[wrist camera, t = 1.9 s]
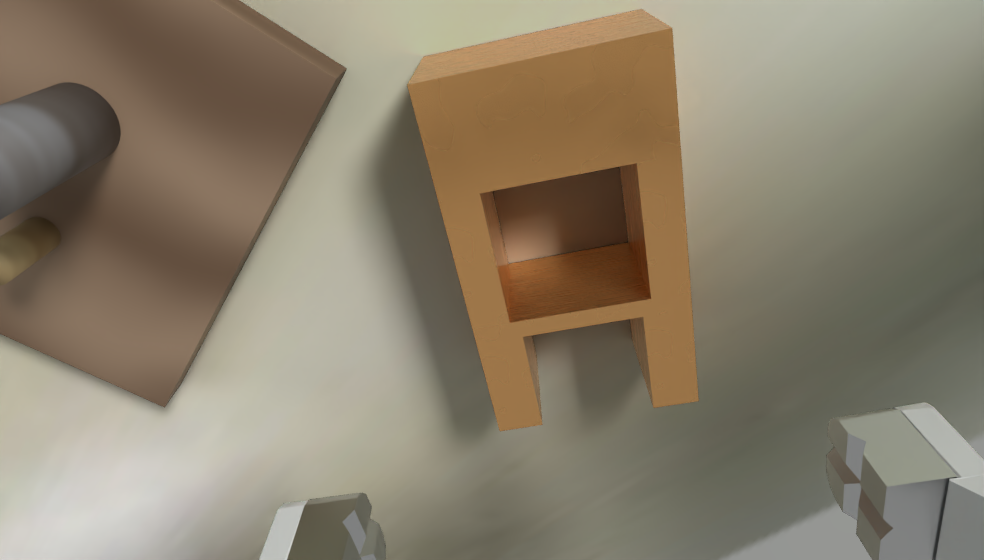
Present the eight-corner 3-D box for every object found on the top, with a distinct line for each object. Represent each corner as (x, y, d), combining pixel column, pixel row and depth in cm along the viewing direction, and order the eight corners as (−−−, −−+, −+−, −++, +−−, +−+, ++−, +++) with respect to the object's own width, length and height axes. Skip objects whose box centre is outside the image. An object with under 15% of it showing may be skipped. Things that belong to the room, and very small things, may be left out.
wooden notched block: (423, 57, 20) (407, 85, 17) (641, 9, 19) (672, 27, 16) (499, 362, 26) (499, 431, 22) (671, 334, 25) (698, 400, 22)
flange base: (-53, -185, 17) (-323, -237, 12) (346, 68, 20) (286, 124, 15) (-136, 237, 24) (-339, 338, 18) (181, 383, 27) (94, 508, 21)
